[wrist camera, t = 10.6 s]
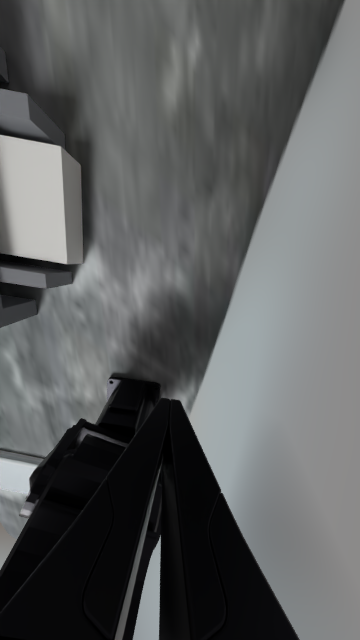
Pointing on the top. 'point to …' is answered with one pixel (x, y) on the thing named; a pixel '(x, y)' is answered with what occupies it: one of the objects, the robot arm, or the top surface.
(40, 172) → the white flat block
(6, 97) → the dock
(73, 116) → the top surface
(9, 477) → the hard drive
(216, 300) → the top surface
